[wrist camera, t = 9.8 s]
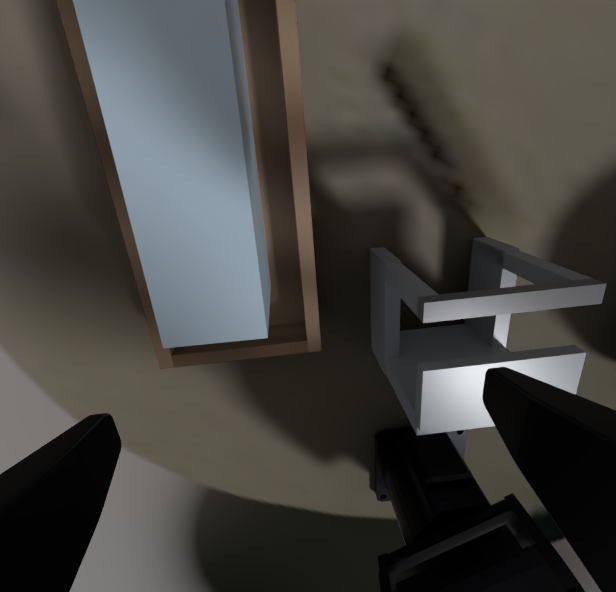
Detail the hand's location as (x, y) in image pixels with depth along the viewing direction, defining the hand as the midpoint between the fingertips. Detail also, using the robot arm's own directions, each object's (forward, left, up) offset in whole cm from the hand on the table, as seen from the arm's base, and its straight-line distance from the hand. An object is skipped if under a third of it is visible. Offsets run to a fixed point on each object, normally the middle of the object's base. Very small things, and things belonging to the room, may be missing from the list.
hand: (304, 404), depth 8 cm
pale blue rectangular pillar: (+6, +3, -11) cm, 13 cm away
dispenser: (-3, -8, -12) cm, 15 cm away
